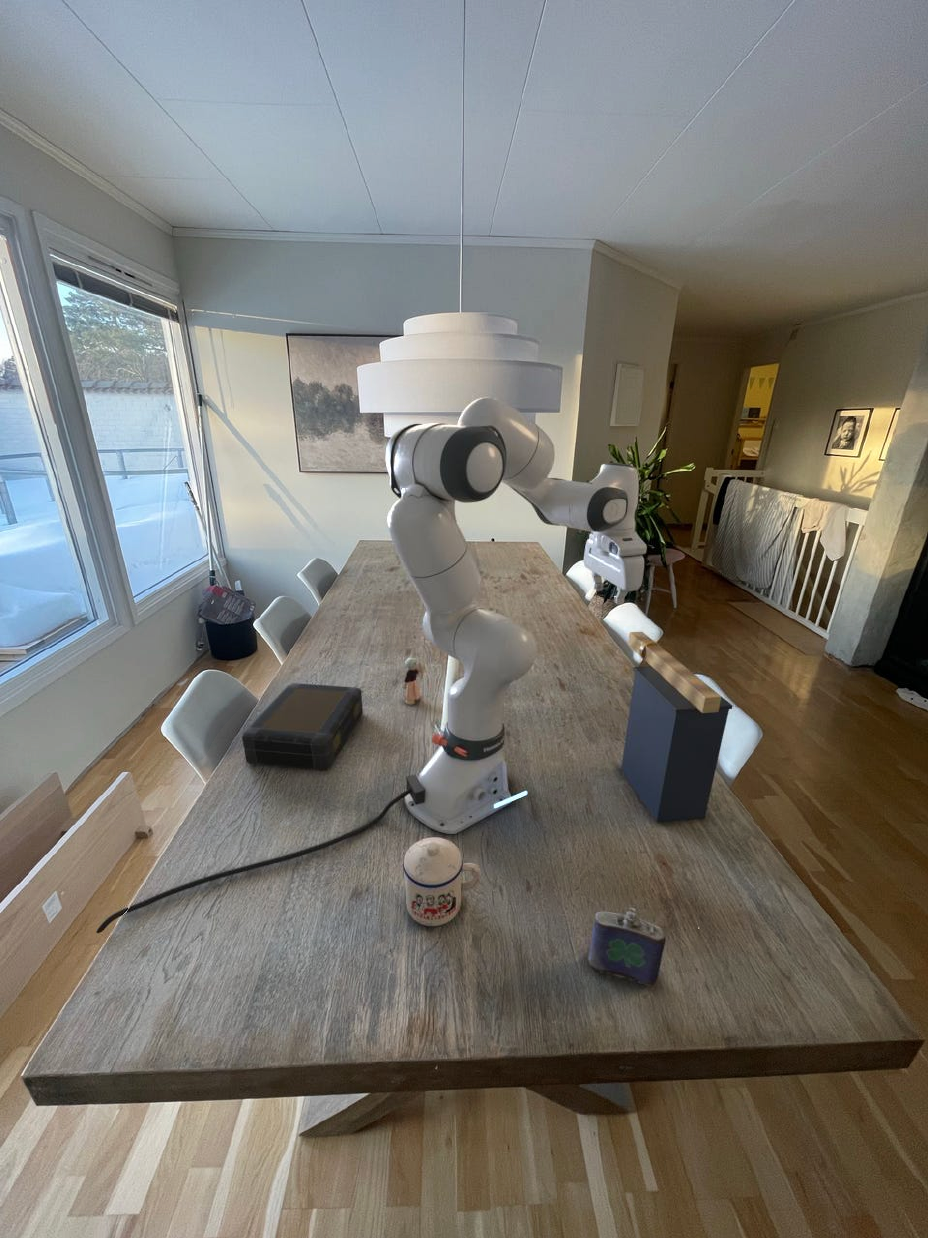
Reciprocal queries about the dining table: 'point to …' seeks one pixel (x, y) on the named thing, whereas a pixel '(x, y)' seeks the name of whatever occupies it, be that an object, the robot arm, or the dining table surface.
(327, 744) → the black hard case
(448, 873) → the teacup with lid
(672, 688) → the stand
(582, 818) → the dining table surface
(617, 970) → the flask
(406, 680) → the grandmother figurine
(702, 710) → the ring rod
